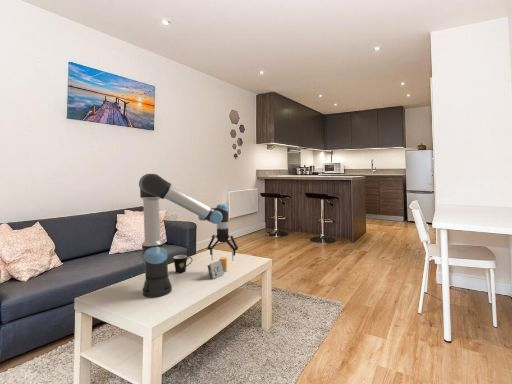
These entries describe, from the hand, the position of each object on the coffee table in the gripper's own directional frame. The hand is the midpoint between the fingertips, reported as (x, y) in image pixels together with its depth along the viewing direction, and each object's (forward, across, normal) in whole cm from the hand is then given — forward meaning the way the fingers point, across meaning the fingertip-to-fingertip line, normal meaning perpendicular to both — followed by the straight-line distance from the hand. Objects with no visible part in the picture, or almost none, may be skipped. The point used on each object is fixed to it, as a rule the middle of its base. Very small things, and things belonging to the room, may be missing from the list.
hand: (222, 260), depth 187 cm
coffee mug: (+8, +26, +2) cm, 28 cm away
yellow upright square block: (+6, 0, 0) cm, 6 cm away
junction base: (+7, 0, 0) cm, 7 cm away
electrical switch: (+8, +3, +10) cm, 13 cm away
